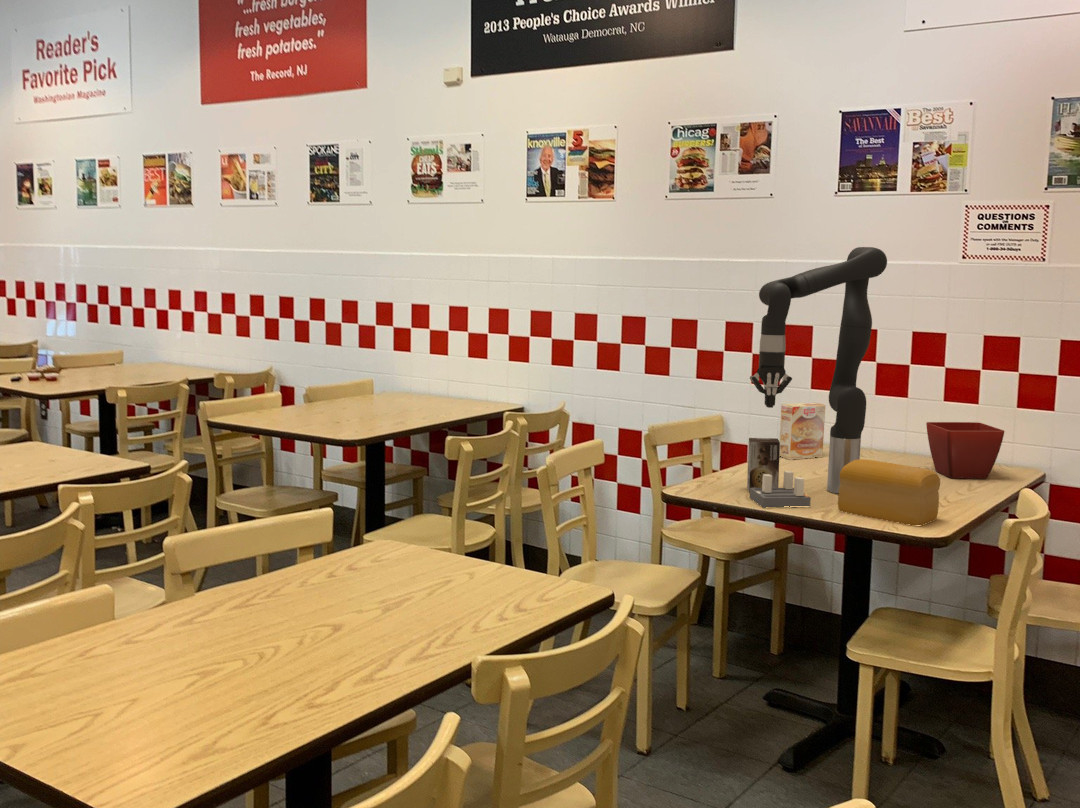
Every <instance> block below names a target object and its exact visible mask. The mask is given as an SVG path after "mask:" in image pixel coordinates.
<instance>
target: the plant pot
mask: <svg viewBox="0 0 1080 808" xmlns="http://www.w3.org/2000/svg"><path fill="white" fill-rule="evenodd" d="M926 432H927V433H926V434H927V439H928V440H927V441H928V447H929V450H930V454H931V455H930V456H931V459H932V462H933V466H934V468H935V472H937V473H939V474H941V475H943V476H945V477H948V478H950V479H984V480H985V479H988V478H989V476H990V474H991V472H992V470H993V468H994V466H995V463H996V461H997V459H998V457H999V453H1000V450H1001V447H1002V443H1003V441H1004V440H1003V439H1004V436H1005V432H1006V431H1005V430H1003V429H1000V428H997V427H994V426H991V425H989V424H985V423H982V422H979V421H978V422H977V421H975V422H974V421H973V422H972V421H971V422H968V421H967V422H965V421H964V422H962V421H945V422H944V421H927V422H926Z"/></svg>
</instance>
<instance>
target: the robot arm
mask: <svg viewBox="0 0 1080 808" xmlns="http://www.w3.org/2000/svg"><path fill="white" fill-rule="evenodd" d="M887 265H888V258H887V255H886V253H885V252H884V251H883V250H881V249H879V248H877V247H872V246H871V247H870V246H858V247H855V248H853V249H852V250H851V251H850V252H849V254H848V255H847V259H846V260H845V261H842V262H839V263H838V262H837V263H834V264H830V265H825V266H821V267H816V268H812V269H809V270H805V271H804V272H800V273H797V274H795V275H793V276H789V277H785V278H781V279H776V280H772V281H769V282H767V283H765V284H764V285H762V286H761V288H760V290H759V292H758V297H759V301H760V302H761V303H762V304H763V305H765V306H768V307H767V312H766V313H767V314H766V315H763V316H762V319H761V327H760V328H761V329H760V330H761V331H760V339H759V351H758V353H759V355H758V367H757V370H756V373H754V375H750V376H749V380H750V381H751V382H752V384H753V385H754V387H755V388H756V389H757V391H758V392H759V393H761V394H763V395H764V406H765V407H766V408H771V409H772V408H774V407H775V405H776V395H779V394H782V393H783V391H784V390H785V389H786V388H787V386H788V385H789V384H791V382H792V380H793V377H791V376H789V375H788V374H787V373H786V368H785V362H786V361H785V360H786V358H785V357H786V350H787V349H786V348H787V347H786V324H787V322H786V320H787V319H788V315H789V311H790V307H791V302H792V301H791V300H792V299H800V298H805V297H808V296H811V295H815V294H816V293H819V292H821V291H825V290H828V289H830V288H833V287H836V286H839V285H842V284H845V288H844V298H843V306H842V315H841V319H840V325H839V326H840V328H839V335H838V343H837V351H836V357H835V358H836V359H835V367H834V371H833V372H834V373H833V377H832V381H831V385H830V389H829V394H828V403H829V406H830V408H831V409H832V411H834V412H835V413H836V415H835V422H834V424H833V425H832V426H831V427H830V430H829V431H830V432H829V447H828V449H829V450H828V451H829V452H828V464H827V465H828V466H827V479H826V480H827V482H826V490H827V492H829V491H830V492H829V493H832V494H838V493H839V487H840V484H841V483H840V479H839V478H840V472H841V470H842V468H843V467H844V466H845V465H847V464H848V463H850V462H852V461H854V460H858V459H861V444H862V433H863V430H864V427H865V422H866V421H865V420H866V413H867V412H866V411H867V396H866V394H865V392H864V391H863V389H861V388H859V387H857V379H858V371H859V368H860V365H861V362H862V360H863V359H864V357H865V355H866V352H867V351H868V348H869V345H870V341H871V336H872V328H873V317H872V312H871V308H870V304H869V301H868V300H869V299H868V298H869V297H868V287H869V281H870V279H873V278H877V277H879V276H880V275H882V274H883V272H885V270H886V268H887ZM760 380H761V382H762V384H763V385H762V384H761V382H759V381H760ZM780 381H781V382H780ZM779 382H780V383H779Z"/></svg>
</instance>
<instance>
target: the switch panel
mask: <svg viewBox="0 0 1080 808" xmlns="http://www.w3.org/2000/svg"><path fill="white" fill-rule="evenodd" d="M749 499H751V500H752V501H753V500H754V501H753V502H754V503H756V504H757V503H758V504H757V505H758V506H760V505H761V506H762V507H761V506H760V507H761V508H762V509H767V508H766V507H784V506H789V507H790V506H810V507H811V499H812V498H811V496H809V495H808V494H806V493H804V494H803V496H796V495H794V487H793V489H785V488H784V487H778V488H772V490H771V493H764V492H763V491H762V488H750V492H749Z"/></svg>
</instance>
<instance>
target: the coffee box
mask: <svg viewBox="0 0 1080 808" xmlns="http://www.w3.org/2000/svg"><path fill="white" fill-rule="evenodd" d="M779 440H780V439H778V438H771V437H769V438H768V437H766V438H765V437H749V438H748V450H747V452H748V453H747V454H748V456H747V479H746V480H747V481H746V483H747V484H746V489H747V488H748V489H747V492H748V491H750V488H762V480H763V474H770V475H771V476H772V488H779V483H780V482H779V481H780V480H779V477H780V457H779V454H780V442H779Z"/></svg>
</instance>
